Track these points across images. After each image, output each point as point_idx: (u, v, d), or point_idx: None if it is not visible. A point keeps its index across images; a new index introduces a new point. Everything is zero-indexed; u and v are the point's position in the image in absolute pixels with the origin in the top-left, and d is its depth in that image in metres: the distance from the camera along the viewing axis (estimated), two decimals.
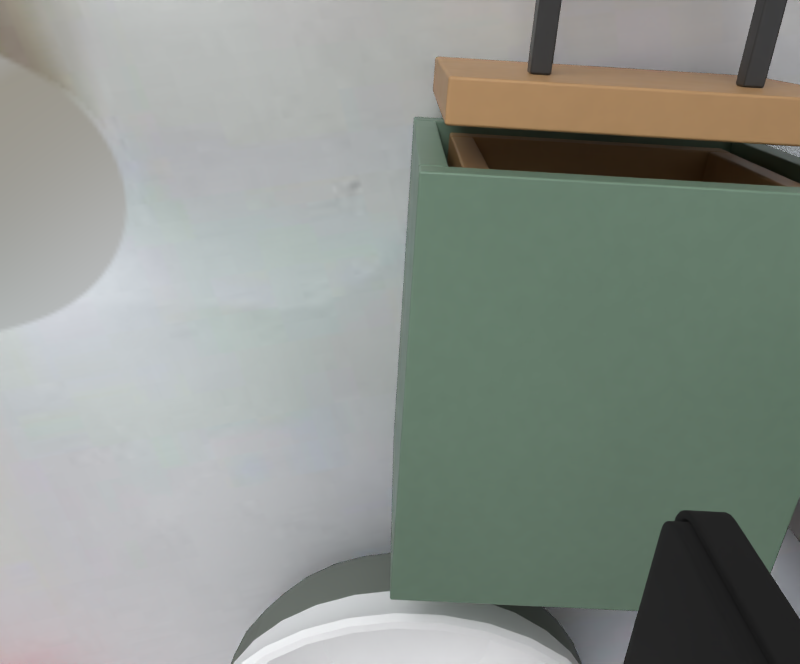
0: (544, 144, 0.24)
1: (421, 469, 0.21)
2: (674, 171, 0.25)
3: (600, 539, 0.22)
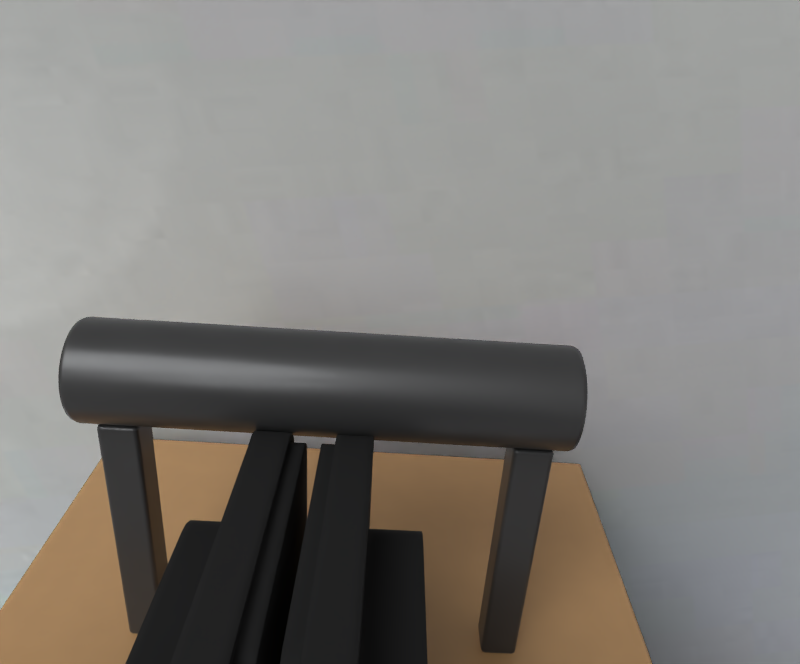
0: None
1: None
2: None
3: None
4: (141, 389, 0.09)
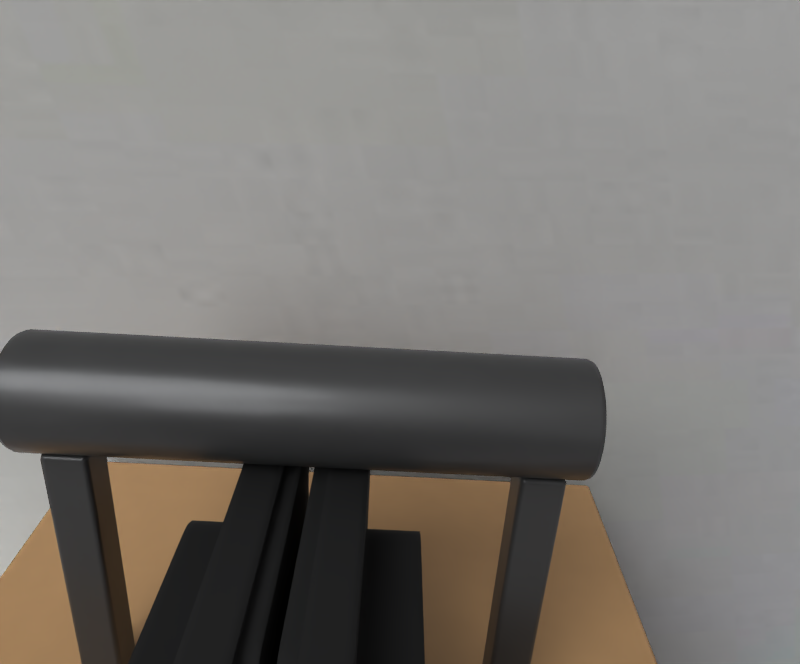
0: None
1: None
2: None
3: None
4: (87, 414, 0.08)
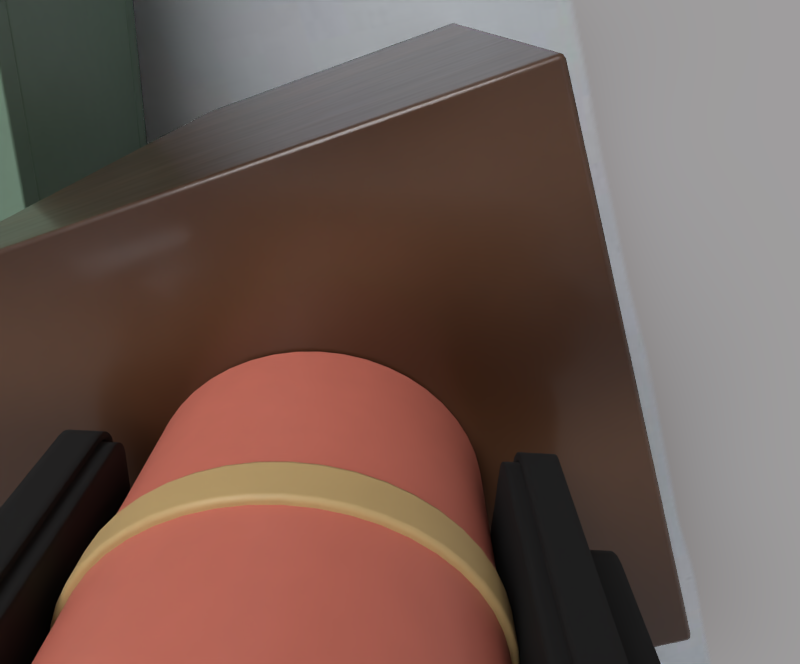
0: None
1: None
2: None
3: None
4: None
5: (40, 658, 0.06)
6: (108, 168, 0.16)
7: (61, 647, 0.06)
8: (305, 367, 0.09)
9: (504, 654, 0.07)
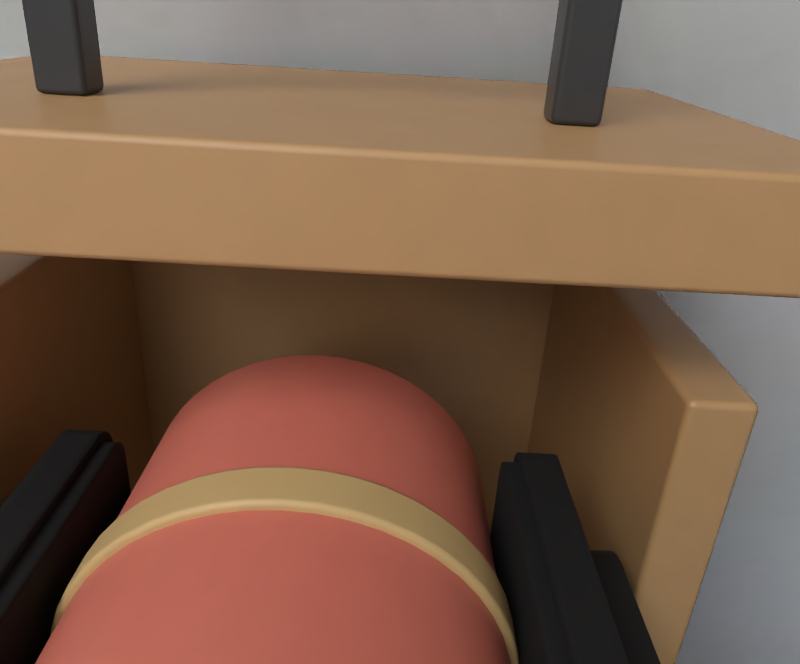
0: None
1: None
2: None
3: None
4: None
5: None
6: None
7: (64, 653, 0.06)
8: (305, 371, 0.09)
9: (504, 659, 0.07)
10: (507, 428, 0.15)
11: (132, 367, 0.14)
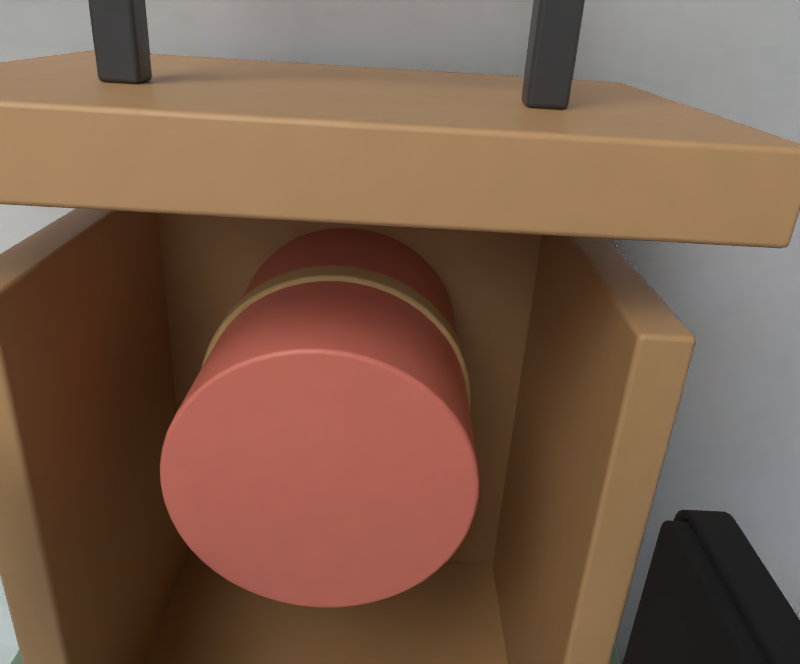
0: None
1: None
2: (493, 237, 0.15)
3: None
4: None
5: (216, 348, 0.11)
6: None
7: (230, 336, 0.11)
8: (342, 234, 0.15)
9: (459, 368, 0.12)
10: (497, 390, 0.17)
11: (160, 332, 0.15)
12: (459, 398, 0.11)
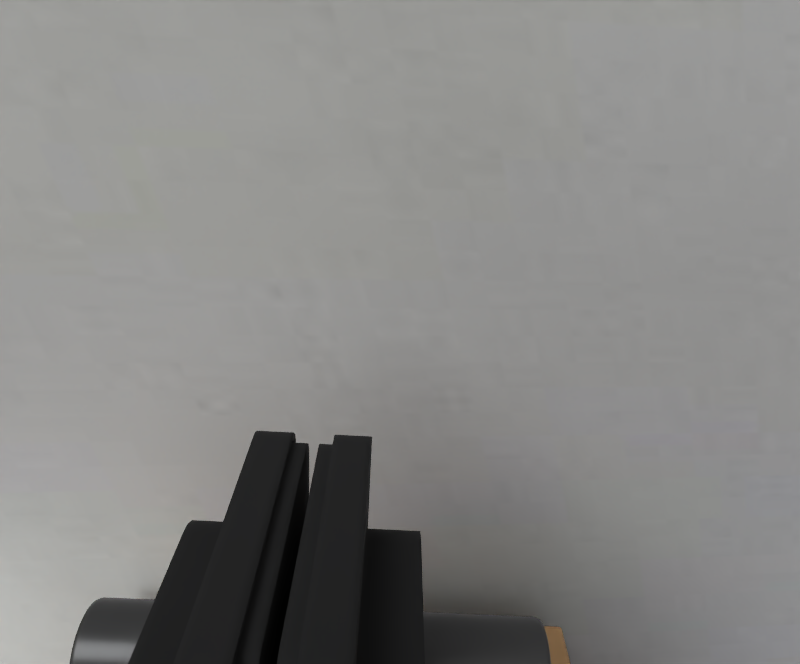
0: None
1: None
2: None
3: None
4: None
5: None
6: None
7: None
8: None
9: None
10: None
11: None
12: None
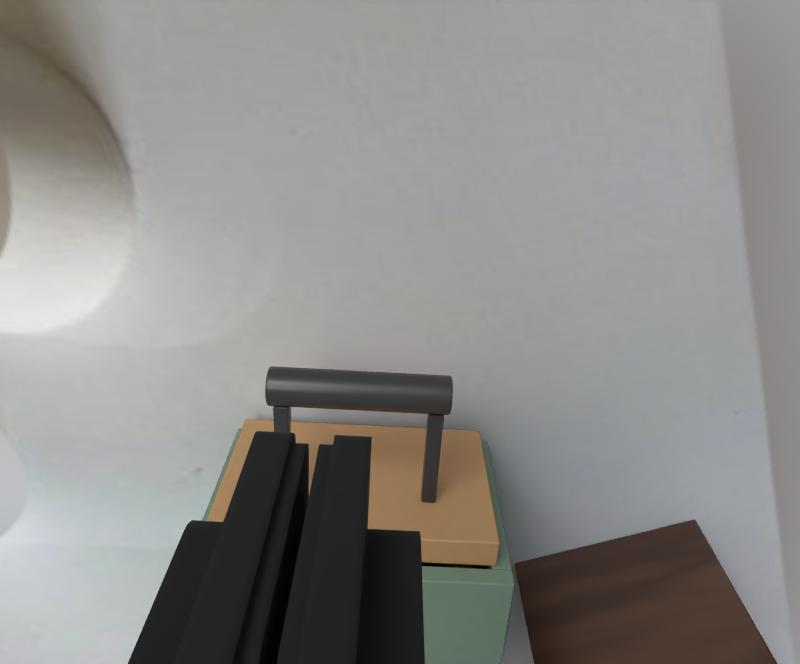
0: None
1: None
2: None
3: None
4: (294, 393, 0.26)
5: None
6: None
7: None
8: None
9: None
10: None
11: None
12: None
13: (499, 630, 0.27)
